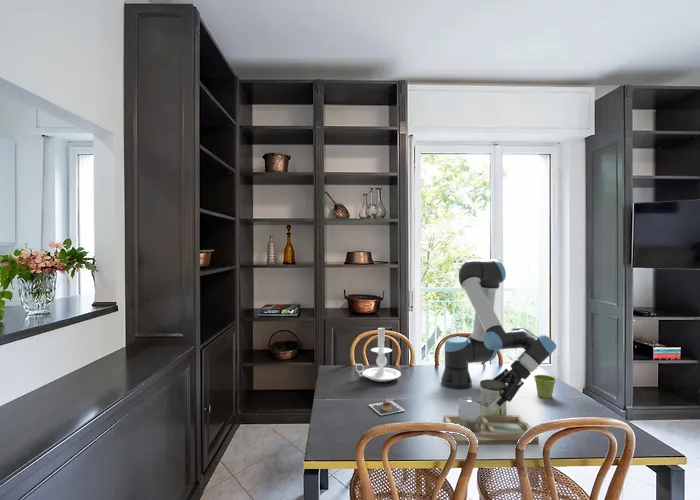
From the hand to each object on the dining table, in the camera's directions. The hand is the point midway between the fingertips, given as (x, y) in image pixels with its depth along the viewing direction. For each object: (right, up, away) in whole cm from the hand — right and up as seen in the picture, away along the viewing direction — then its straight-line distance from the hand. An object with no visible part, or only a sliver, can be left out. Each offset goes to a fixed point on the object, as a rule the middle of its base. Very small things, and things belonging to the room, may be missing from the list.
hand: (486, 404), depth 161 cm
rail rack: (-4, -5, -14) cm, 16 cm away
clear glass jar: (-11, -4, -14) cm, 18 cm away
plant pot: (+36, -6, +23) cm, 43 cm away
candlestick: (-41, -6, +48) cm, 63 cm away
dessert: (-40, -6, +9) cm, 42 cm away
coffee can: (+3, -6, 0) cm, 6 cm away
